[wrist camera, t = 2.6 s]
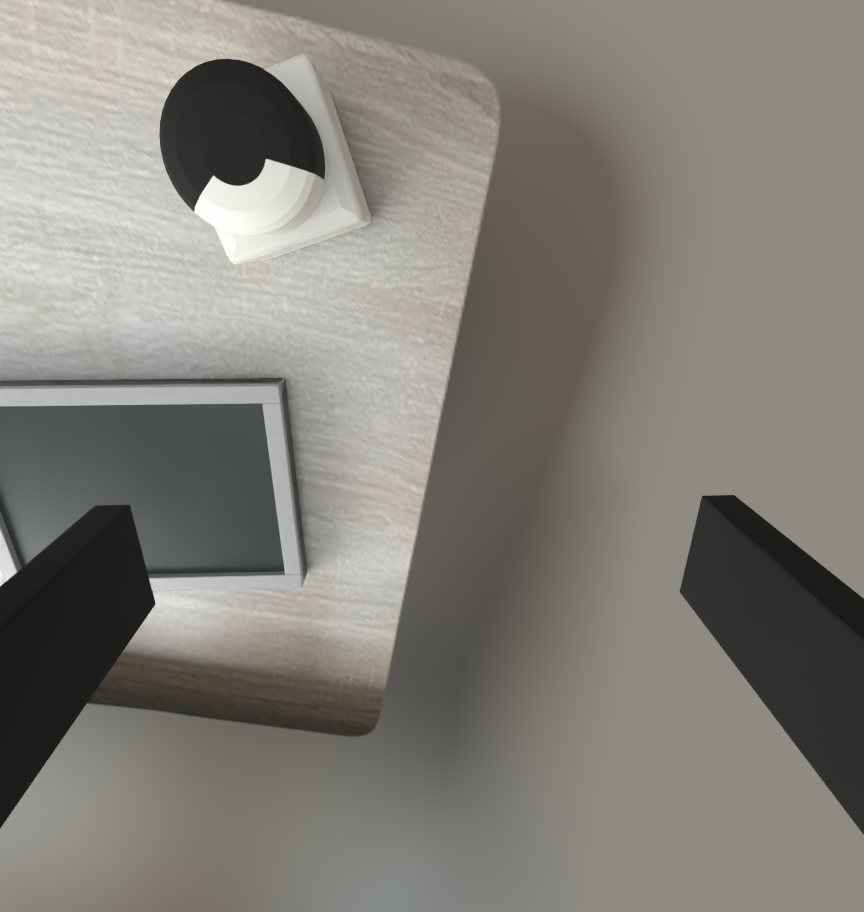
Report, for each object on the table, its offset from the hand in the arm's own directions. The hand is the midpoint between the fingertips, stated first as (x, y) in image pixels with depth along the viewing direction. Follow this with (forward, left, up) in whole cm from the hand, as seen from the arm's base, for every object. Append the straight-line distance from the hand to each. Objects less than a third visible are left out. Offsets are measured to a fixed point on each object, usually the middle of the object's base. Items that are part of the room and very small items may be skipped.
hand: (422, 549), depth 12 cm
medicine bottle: (+7, -10, -25) cm, 28 cm away
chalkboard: (+20, +10, -25) cm, 33 cm away
